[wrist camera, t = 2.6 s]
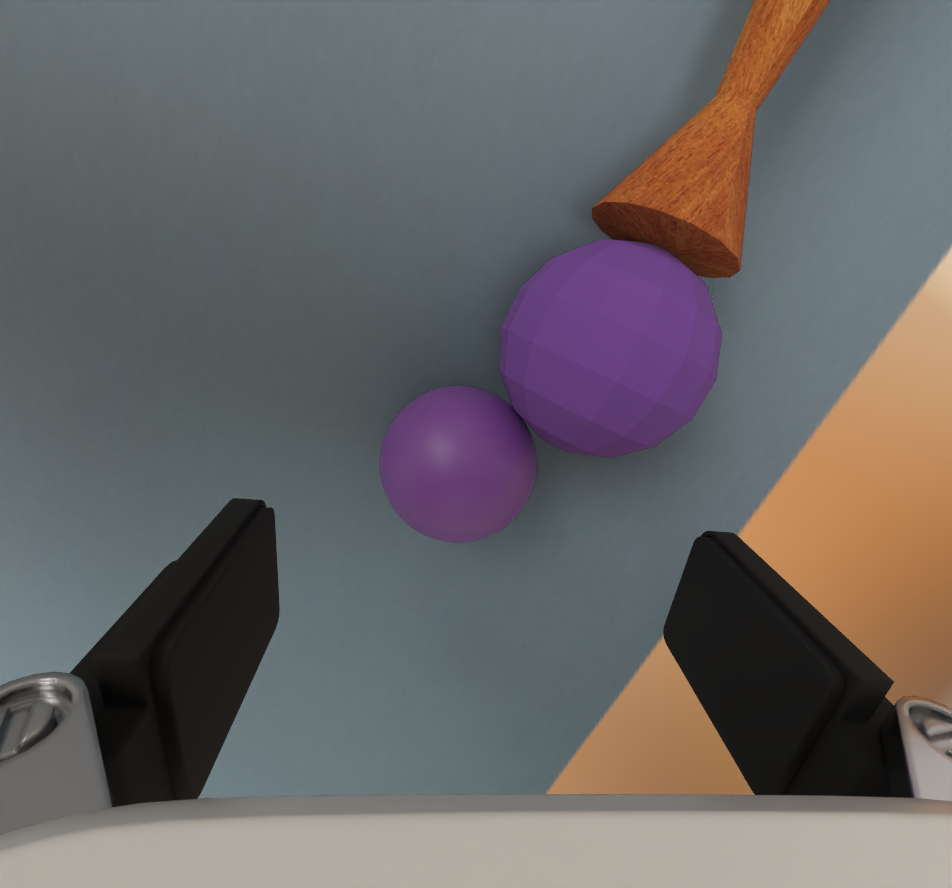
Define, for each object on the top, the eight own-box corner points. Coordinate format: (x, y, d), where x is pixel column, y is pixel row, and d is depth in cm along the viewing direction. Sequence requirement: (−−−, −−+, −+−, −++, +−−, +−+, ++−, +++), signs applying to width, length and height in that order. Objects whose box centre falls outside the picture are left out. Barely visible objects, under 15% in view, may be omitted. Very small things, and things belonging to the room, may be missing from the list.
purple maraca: (1336, -489, 7) (688, 517, 12) (919, -183, 13) (582, 437, 18) (1292, -1102, 5) (508, 453, 10) (800, -411, 10) (446, 382, 15)
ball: (384, 489, 17) (367, 573, 13) (390, 362, 16) (372, 407, 11) (510, 497, 18) (536, 580, 13) (531, 376, 16) (569, 424, 12)
